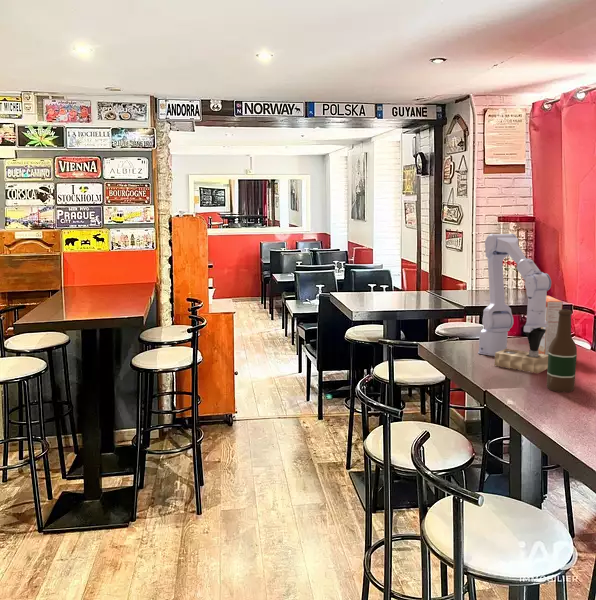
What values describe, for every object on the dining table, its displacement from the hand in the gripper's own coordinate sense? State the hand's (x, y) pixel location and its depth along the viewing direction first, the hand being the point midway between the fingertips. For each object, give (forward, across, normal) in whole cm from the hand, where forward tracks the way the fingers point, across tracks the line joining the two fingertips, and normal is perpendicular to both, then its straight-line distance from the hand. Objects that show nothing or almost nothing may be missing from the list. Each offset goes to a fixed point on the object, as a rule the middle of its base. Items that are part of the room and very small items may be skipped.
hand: (534, 350), depth 218 cm
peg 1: (+6, 0, +8) cm, 10 cm away
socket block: (+6, 0, +4) cm, 8 cm away
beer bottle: (+7, -18, -16) cm, 25 cm away
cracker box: (+7, +25, +6) cm, 26 cm away
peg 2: (+4, 0, 0) cm, 4 cm away
